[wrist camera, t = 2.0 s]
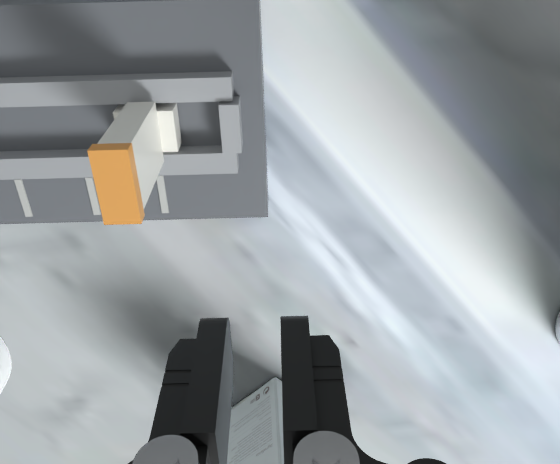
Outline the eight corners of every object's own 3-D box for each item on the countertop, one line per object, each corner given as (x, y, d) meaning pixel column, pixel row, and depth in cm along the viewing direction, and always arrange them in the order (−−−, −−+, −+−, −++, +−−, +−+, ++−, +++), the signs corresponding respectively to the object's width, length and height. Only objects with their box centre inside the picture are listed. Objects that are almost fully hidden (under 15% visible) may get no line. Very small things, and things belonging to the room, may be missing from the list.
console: (259, -8, 27) (258, 3, 24) (268, 200, 33) (267, 229, 31) (-213, 5, 27) (-271, 17, 24) (-116, 211, 34) (-153, 240, 31)
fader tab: (175, 91, 28) (145, 149, 21) (183, 152, 29) (157, 223, 23) (117, 92, 28) (69, 151, 21) (128, 154, 29) (87, 225, 23)
